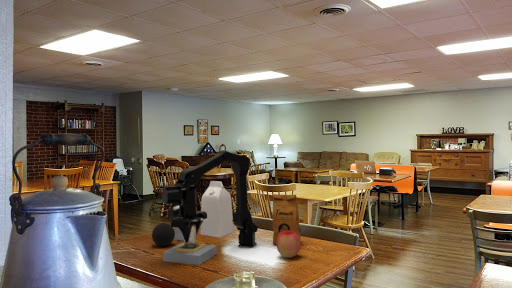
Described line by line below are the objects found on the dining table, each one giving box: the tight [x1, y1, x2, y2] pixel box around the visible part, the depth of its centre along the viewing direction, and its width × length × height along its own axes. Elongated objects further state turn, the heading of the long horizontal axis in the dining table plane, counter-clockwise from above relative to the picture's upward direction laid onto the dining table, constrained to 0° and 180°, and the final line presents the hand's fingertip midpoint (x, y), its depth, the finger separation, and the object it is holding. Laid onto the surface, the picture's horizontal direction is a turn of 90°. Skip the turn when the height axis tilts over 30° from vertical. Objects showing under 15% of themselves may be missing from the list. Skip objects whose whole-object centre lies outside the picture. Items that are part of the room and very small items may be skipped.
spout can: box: [179, 224, 197, 249], centre depth 152 cm, size 7×5×9 cm
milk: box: [200, 180, 235, 238], centre depth 190 cm, size 12×12×26 cm
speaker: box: [151, 222, 175, 247], centre depth 170 cm, size 10×10×10 cm
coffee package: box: [271, 193, 302, 245], centre depth 168 cm, size 10×12×22 cm
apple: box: [275, 230, 302, 259], centre depth 149 cm, size 10×10×10 cm
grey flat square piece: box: [162, 242, 218, 266], centre depth 151 cm, size 16×14×4 cm
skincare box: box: [173, 205, 184, 242], centre depth 181 cm, size 8×7×16 cm
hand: (190, 240), depth 151 cm, fingers closed on spout can, 5 cm apart
